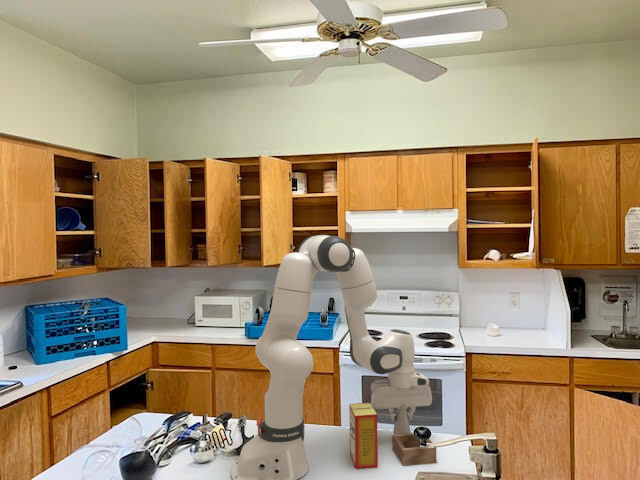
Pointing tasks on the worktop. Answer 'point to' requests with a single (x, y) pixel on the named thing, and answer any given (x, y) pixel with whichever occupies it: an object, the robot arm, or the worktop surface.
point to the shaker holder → (412, 450)
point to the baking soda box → (363, 436)
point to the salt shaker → (401, 421)
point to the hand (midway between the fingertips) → (401, 419)
